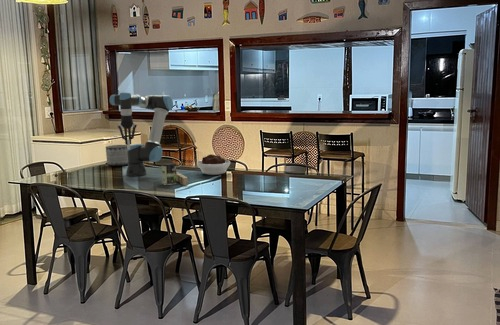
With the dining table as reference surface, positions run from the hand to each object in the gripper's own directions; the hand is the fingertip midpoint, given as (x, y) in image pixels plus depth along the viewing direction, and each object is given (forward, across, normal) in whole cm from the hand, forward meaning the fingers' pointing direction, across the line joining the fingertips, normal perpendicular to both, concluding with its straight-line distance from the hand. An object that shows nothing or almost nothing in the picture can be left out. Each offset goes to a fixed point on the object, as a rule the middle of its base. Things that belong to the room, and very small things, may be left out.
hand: (128, 149), depth 335 cm
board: (+24, +31, -16) cm, 43 cm away
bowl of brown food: (+25, +63, -1) cm, 68 cm away
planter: (+25, +8, +78) cm, 82 cm away
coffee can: (+24, +23, -16) cm, 37 cm away
